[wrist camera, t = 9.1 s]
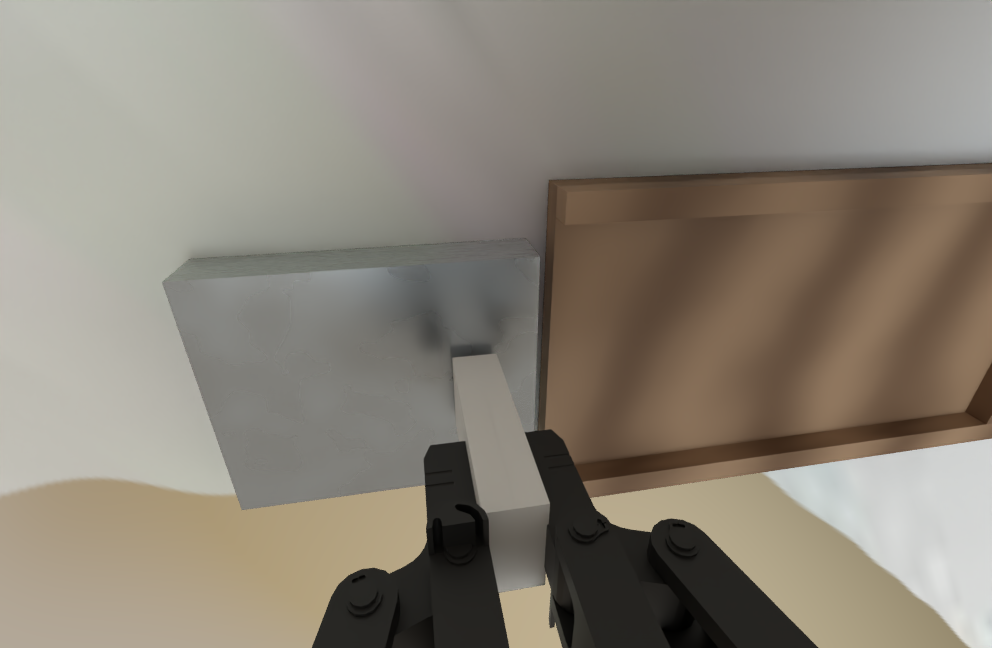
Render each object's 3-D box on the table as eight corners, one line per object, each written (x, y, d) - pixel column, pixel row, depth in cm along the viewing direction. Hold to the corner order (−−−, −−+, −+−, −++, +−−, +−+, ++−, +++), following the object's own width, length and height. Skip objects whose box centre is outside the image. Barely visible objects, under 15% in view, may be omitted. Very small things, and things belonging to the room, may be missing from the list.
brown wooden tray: (1087, 159, 20) (1154, 166, 18) (952, 413, 26) (993, 438, 24) (548, 180, 16) (567, 192, 14) (536, 470, 22) (548, 503, 20)
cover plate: (522, 234, 17) (540, 256, 15) (519, 430, 21) (532, 470, 19) (195, 254, 16) (161, 281, 13) (259, 462, 20) (241, 510, 18)
